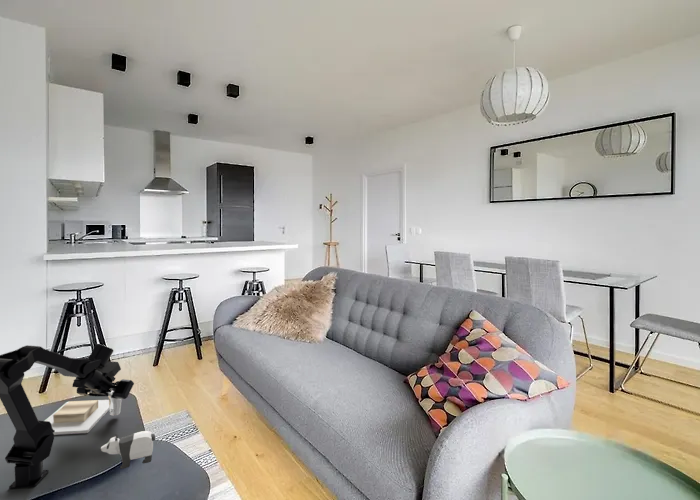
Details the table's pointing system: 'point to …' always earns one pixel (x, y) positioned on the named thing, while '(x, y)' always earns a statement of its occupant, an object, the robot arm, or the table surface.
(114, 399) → the milkshake
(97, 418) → the baseplate
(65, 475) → the table surface
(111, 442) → the giant panda
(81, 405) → the plinth
